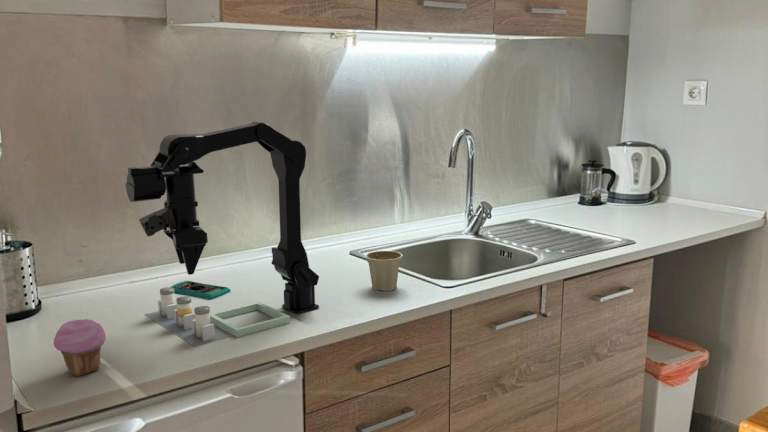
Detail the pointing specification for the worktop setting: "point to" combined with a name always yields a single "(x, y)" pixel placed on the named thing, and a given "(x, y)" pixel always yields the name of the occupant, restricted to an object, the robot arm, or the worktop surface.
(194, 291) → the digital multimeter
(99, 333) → the cupcake
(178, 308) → the fuse marked
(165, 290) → the fuse left
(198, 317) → the fuse right
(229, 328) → the tray
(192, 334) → the fuse panel
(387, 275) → the flower pot
